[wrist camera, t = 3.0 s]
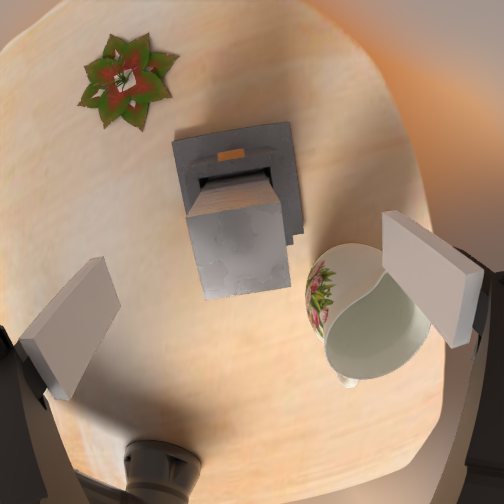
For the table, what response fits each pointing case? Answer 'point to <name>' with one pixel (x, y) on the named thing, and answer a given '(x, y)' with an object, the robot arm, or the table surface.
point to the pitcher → (362, 314)
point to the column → (238, 235)
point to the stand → (243, 165)
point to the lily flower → (142, 92)
